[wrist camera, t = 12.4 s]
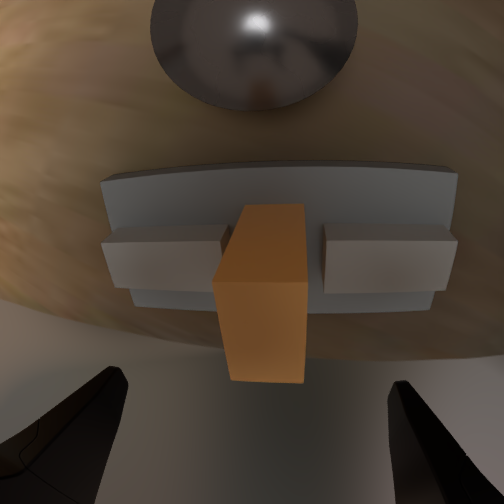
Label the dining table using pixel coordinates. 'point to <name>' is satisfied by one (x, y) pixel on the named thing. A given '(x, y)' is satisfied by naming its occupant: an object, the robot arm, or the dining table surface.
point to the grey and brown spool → (253, 48)
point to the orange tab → (265, 294)
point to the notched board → (316, 223)
